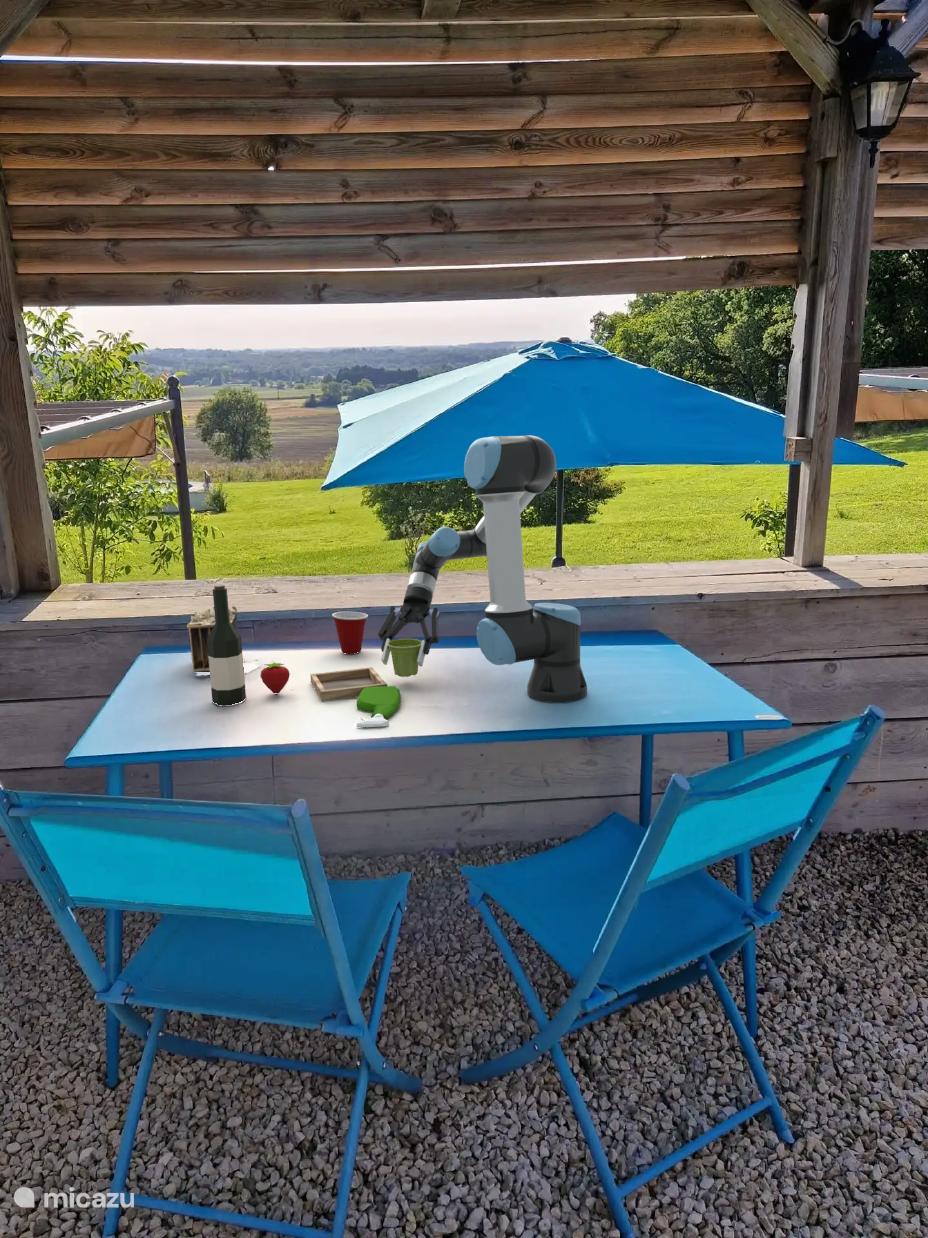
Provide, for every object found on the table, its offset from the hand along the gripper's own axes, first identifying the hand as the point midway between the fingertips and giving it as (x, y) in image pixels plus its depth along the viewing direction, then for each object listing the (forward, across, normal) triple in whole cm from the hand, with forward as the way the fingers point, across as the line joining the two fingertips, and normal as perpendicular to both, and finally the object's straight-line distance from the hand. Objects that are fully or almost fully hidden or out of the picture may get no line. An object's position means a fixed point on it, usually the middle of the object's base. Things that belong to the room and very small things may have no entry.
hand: (401, 663), depth 234 cm
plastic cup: (-17, +28, -25) cm, 41 cm away
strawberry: (+14, +30, +5) cm, 33 cm away
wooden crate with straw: (+1, +60, -8) cm, 60 cm away
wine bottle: (+20, +39, +11) cm, 45 cm away
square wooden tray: (+8, +14, -1) cm, 16 cm away
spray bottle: (+19, -1, +9) cm, 21 cm away
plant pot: (+1, 0, -5) cm, 5 cm away
